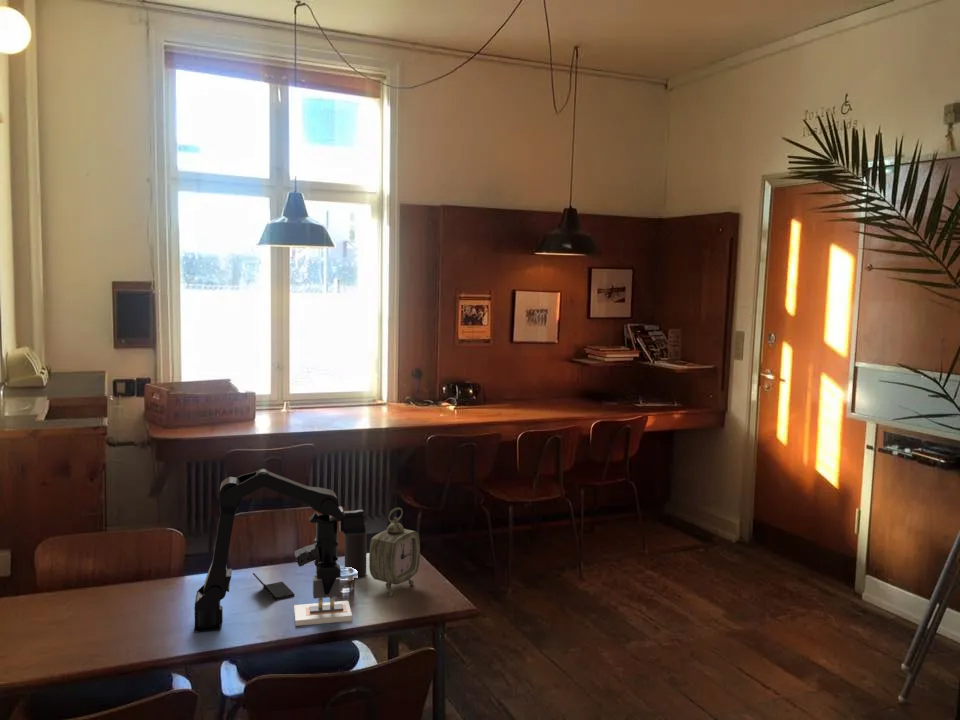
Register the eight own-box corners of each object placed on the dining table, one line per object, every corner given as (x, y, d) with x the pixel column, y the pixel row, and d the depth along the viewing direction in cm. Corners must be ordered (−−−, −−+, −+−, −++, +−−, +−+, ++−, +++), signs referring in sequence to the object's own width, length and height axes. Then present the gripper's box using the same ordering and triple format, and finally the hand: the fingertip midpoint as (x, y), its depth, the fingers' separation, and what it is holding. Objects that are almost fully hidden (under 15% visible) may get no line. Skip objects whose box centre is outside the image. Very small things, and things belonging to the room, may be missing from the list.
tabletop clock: (391, 600, 225) (392, 516, 222) (366, 593, 229) (367, 511, 227) (419, 584, 237) (421, 504, 235) (395, 577, 242) (396, 500, 239)
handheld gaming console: (300, 589, 227) (279, 567, 223) (284, 609, 223) (262, 587, 219) (282, 582, 236) (261, 561, 232) (266, 602, 232) (245, 581, 228)
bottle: (349, 580, 238) (350, 517, 236) (341, 573, 244) (341, 511, 242) (369, 576, 242) (370, 514, 240) (360, 569, 248) (361, 508, 246)
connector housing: (338, 591, 216) (338, 573, 215) (339, 596, 212) (339, 578, 212) (312, 593, 214) (312, 575, 213) (313, 598, 210) (313, 580, 210)
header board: (295, 625, 207) (295, 608, 206) (294, 610, 216) (294, 593, 216) (351, 620, 211) (352, 603, 210) (348, 605, 220) (348, 589, 220)
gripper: (295, 527, 218) (294, 580, 220) (297, 550, 200) (297, 607, 202) (335, 525, 221) (334, 577, 223) (341, 547, 203) (340, 604, 205)
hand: (326, 591), depth 213 cm, fingers closed on connector housing, 4 cm apart
